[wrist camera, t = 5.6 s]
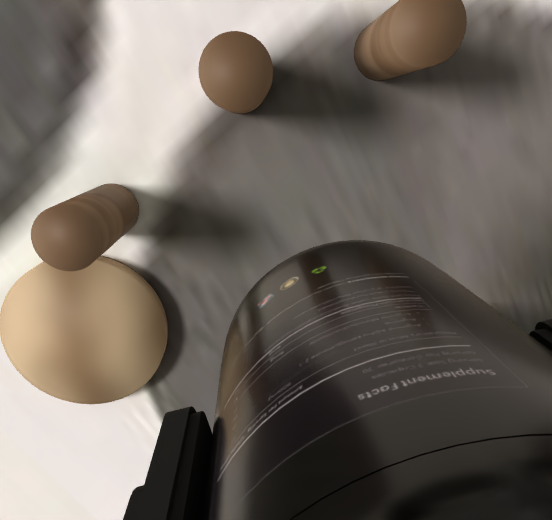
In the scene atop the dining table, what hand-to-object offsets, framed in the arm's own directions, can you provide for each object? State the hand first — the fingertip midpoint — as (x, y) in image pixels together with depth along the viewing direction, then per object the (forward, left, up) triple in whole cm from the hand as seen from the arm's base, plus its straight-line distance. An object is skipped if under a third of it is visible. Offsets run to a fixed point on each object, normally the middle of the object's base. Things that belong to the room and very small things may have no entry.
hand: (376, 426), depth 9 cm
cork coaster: (+14, +4, -19) cm, 24 cm away
